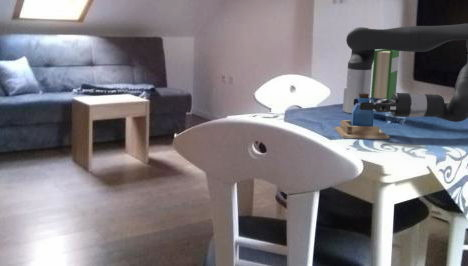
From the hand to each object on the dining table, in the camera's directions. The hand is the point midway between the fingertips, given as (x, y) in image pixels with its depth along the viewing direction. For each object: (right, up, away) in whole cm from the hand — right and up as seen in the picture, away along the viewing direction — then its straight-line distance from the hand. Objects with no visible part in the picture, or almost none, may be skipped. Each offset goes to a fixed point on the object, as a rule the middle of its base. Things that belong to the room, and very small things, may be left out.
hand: (356, 104), depth 158 cm
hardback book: (+28, +3, +66) cm, 71 cm away
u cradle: (+2, -9, +2) cm, 10 cm away
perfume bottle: (+2, -9, +2) cm, 9 cm away
